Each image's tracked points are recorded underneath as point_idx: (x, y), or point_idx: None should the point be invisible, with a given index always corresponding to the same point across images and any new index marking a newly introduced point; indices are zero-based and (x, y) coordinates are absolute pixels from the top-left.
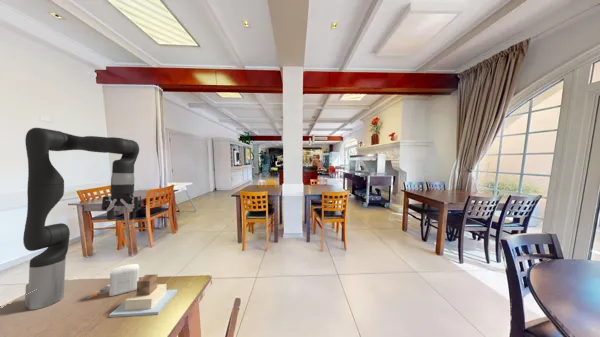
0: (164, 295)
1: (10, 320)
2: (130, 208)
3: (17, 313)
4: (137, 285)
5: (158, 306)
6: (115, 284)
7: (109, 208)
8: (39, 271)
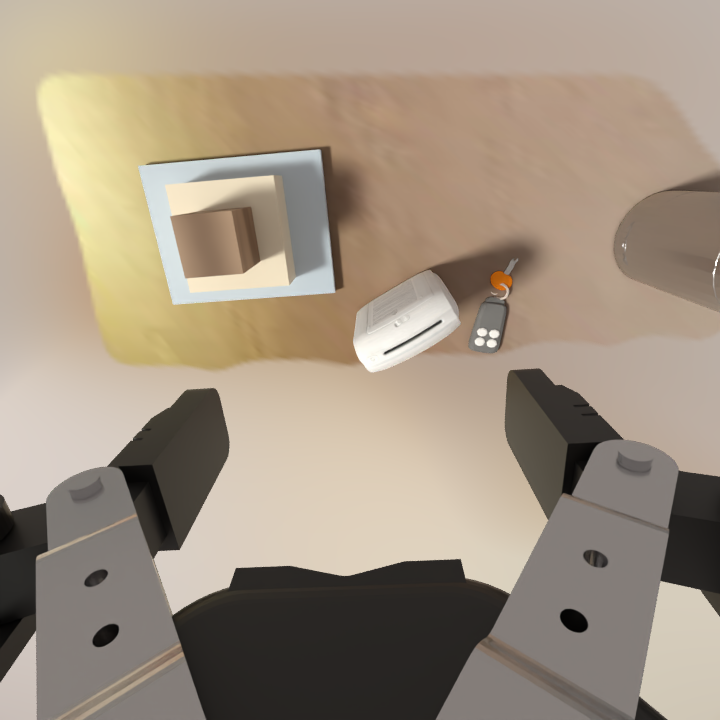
0: None
1: (690, 133)
2: (78, 518)
3: (705, 172)
4: (234, 209)
5: (164, 197)
6: (418, 286)
7: (616, 494)
8: None
